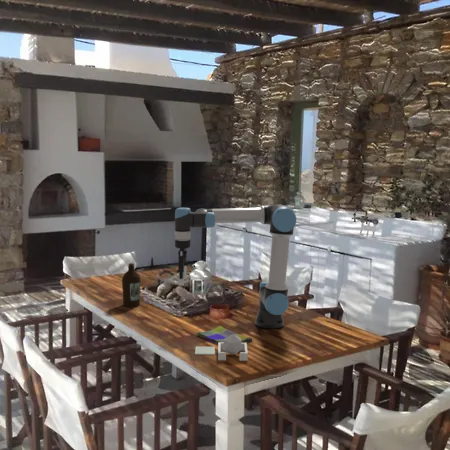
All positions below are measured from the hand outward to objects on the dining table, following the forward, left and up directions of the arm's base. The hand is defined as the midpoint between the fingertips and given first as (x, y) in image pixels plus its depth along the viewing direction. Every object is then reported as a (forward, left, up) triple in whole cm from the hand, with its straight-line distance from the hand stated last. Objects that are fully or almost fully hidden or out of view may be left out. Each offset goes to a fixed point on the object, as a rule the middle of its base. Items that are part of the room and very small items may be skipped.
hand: (182, 281), depth 280 cm
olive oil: (+33, -47, -27) cm, 63 cm away
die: (-25, +28, -27) cm, 46 cm away
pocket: (-25, +28, -26) cm, 46 cm away
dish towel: (-21, +6, -27) cm, 35 cm away
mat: (-12, +24, -26) cm, 38 cm away
